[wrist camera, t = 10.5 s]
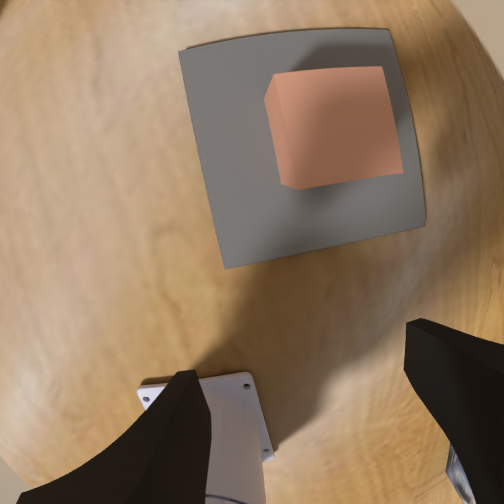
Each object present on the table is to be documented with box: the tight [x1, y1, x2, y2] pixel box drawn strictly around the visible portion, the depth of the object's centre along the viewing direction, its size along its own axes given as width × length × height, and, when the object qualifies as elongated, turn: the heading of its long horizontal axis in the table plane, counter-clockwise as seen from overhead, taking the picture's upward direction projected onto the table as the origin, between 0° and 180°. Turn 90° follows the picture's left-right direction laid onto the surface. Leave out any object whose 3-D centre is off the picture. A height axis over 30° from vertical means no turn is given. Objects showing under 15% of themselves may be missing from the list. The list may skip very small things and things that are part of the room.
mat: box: [178, 29, 426, 269], centre depth 16 cm, size 12×12×1 cm
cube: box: [264, 66, 403, 190], centre depth 13 cm, size 4×4×4 cm
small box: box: [446, 443, 476, 504], centre depth 19 cm, size 11×6×10 cm, turn 21°
